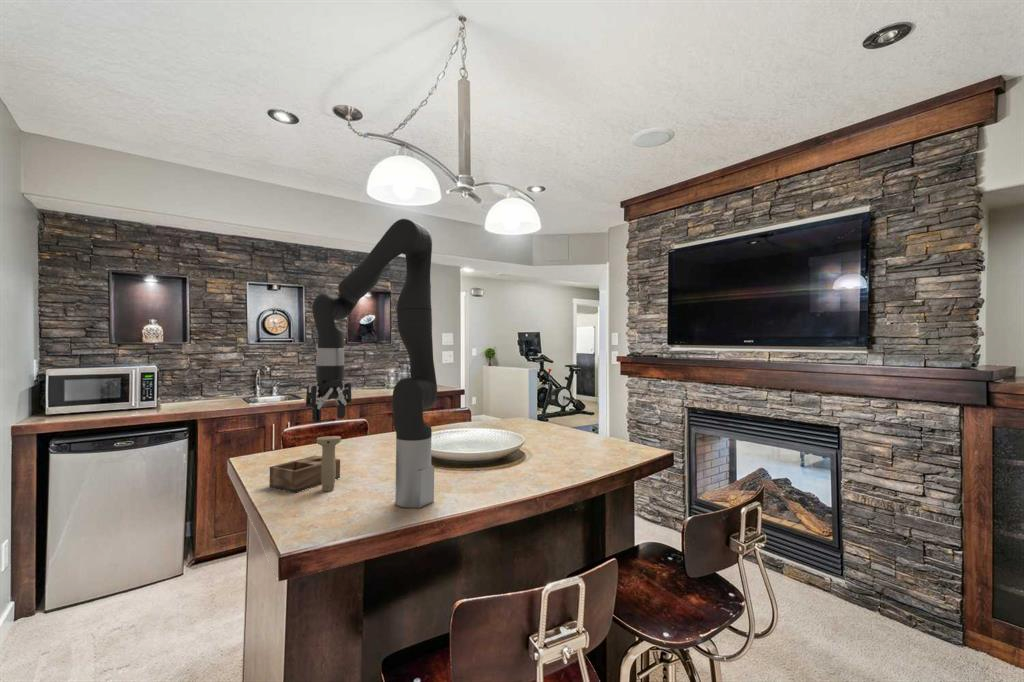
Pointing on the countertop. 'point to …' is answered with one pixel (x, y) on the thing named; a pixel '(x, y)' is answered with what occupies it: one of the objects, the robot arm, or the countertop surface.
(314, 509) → the countertop surface
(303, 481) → the socket block
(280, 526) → the countertop surface
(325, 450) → the handle
